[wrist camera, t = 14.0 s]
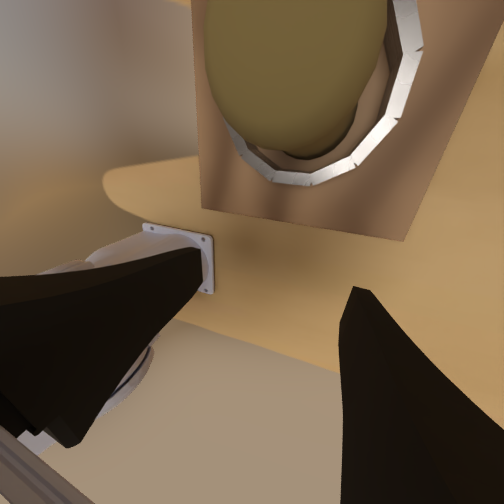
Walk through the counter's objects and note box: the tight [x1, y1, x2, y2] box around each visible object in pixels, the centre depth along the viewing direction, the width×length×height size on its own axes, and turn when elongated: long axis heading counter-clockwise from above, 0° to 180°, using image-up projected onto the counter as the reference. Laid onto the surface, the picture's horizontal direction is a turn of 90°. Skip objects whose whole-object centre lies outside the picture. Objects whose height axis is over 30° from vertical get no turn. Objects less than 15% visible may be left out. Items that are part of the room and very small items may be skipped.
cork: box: [203, 0, 387, 160], centre depth 9 cm, size 6×6×11 cm
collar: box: [223, 0, 424, 186], centre depth 13 cm, size 11×11×2 cm
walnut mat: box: [191, 0, 504, 242], centre depth 14 cm, size 18×18×1 cm
